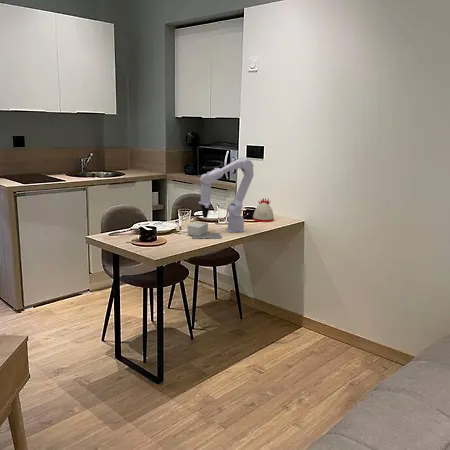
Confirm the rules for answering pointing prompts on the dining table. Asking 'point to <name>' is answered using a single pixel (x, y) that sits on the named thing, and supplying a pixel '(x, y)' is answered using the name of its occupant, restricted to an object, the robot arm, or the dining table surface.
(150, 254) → the dining table surface
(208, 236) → the mat
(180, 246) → the dining table surface
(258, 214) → the spiked white dome
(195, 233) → the small box
